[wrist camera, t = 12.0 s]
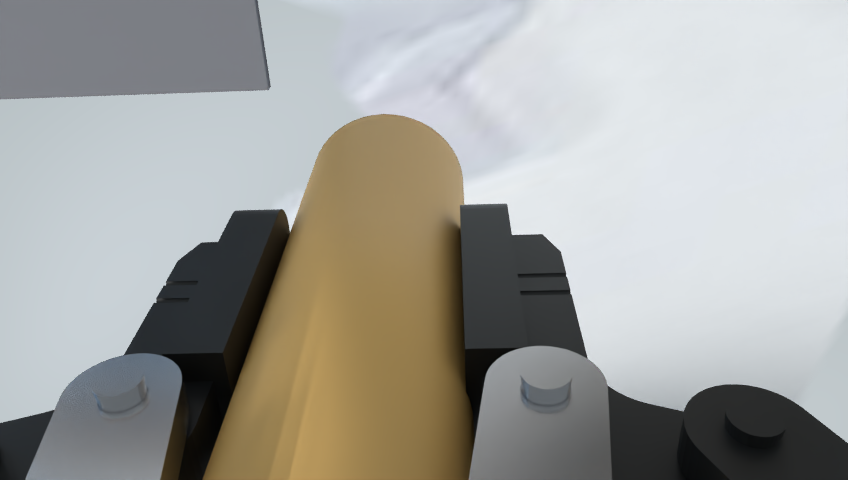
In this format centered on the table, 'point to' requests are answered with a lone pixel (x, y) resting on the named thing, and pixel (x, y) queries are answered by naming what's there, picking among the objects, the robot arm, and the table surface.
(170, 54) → the mat
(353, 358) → the dowel
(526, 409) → the robot arm
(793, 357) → the table surface
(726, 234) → the table surface
